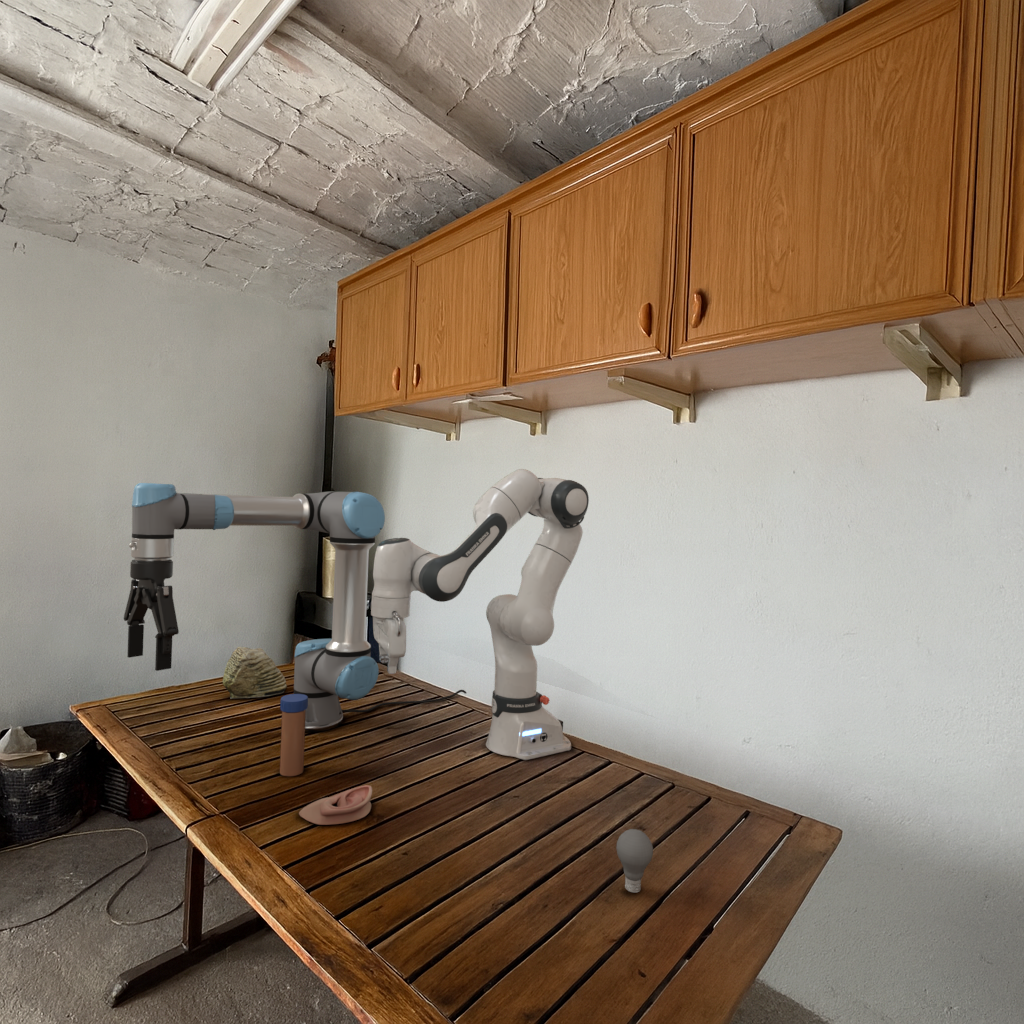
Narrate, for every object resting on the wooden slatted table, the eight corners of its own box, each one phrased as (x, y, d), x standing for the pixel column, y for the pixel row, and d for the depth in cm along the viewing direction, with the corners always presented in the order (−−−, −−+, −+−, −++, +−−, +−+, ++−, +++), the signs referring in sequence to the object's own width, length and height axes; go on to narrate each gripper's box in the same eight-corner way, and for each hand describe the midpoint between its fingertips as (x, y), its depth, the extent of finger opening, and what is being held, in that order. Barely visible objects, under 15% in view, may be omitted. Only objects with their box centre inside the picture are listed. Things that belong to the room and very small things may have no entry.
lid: (275, 707, 145) (275, 697, 145) (299, 702, 149) (299, 692, 149) (288, 714, 141) (289, 703, 141) (312, 708, 145) (313, 698, 145)
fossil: (218, 695, 195) (220, 647, 195) (278, 685, 208) (279, 640, 207) (228, 703, 189) (230, 653, 188) (289, 692, 201) (290, 645, 201)
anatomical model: (291, 800, 123) (320, 775, 134) (290, 820, 123) (320, 794, 134) (354, 810, 120) (379, 784, 132) (353, 830, 121) (378, 803, 132)
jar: (275, 771, 145) (278, 699, 145) (296, 764, 149) (298, 694, 149) (287, 778, 142) (289, 704, 141) (307, 771, 145) (310, 700, 145)
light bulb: (610, 879, 108) (613, 822, 108) (644, 879, 109) (647, 822, 109) (619, 902, 102) (622, 840, 102) (655, 901, 103) (658, 840, 103)
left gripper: (108, 554, 134) (104, 654, 134) (159, 565, 118) (155, 678, 119) (146, 552, 140) (143, 648, 140) (199, 563, 124) (195, 671, 124)
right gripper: (414, 616, 138) (411, 679, 138) (395, 600, 157) (392, 656, 157) (385, 616, 136) (382, 680, 136) (369, 601, 154) (366, 657, 155)
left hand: (148, 662), depth 129 cm, fingers open, 13 cm apart
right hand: (387, 667), depth 147 cm, fingers open, 8 cm apart
